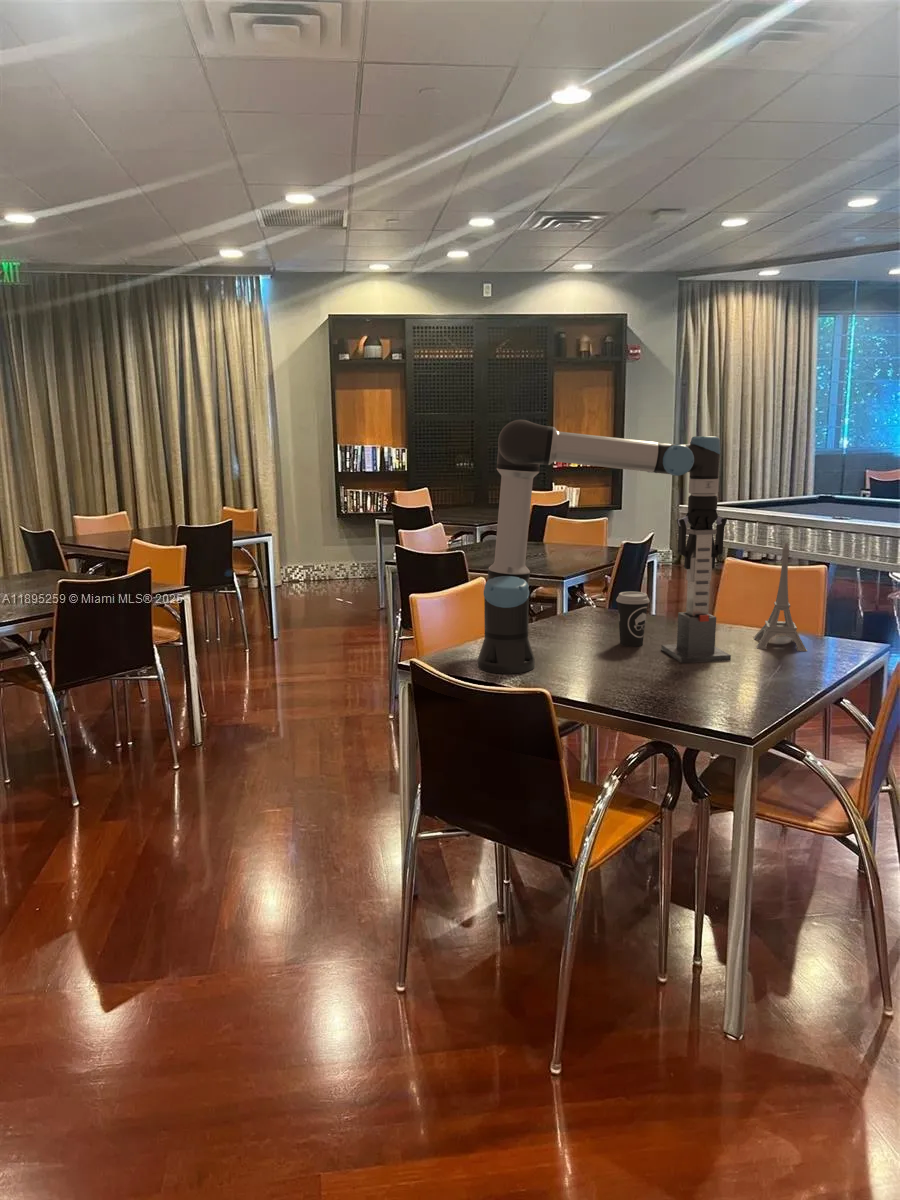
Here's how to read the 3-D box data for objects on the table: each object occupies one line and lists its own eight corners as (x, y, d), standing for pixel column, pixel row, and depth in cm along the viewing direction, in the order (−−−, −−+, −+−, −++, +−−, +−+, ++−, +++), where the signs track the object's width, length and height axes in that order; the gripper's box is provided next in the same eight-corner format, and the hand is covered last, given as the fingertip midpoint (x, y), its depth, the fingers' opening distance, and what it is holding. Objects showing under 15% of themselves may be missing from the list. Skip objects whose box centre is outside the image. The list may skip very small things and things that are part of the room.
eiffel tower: (753, 638, 246) (759, 539, 240) (800, 640, 243) (808, 540, 237) (756, 649, 234) (763, 545, 228) (807, 651, 230) (815, 546, 224)
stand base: (681, 663, 220) (683, 618, 218) (661, 649, 234) (663, 607, 231) (730, 660, 222) (733, 616, 219) (707, 647, 235) (710, 605, 233)
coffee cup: (645, 640, 245) (647, 591, 242) (650, 648, 235) (652, 597, 232) (613, 639, 246) (614, 590, 243) (616, 647, 236) (618, 597, 233)
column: (690, 629, 223) (695, 530, 217) (681, 625, 229) (686, 528, 223) (711, 628, 224) (716, 529, 218) (702, 624, 229) (706, 527, 224)
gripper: (677, 496, 214) (673, 583, 219) (740, 495, 216) (735, 581, 221) (666, 494, 221) (662, 579, 226) (727, 493, 224) (722, 577, 228)
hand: (698, 580), depth 223 cm, fingers closed on column, 4 cm apart
